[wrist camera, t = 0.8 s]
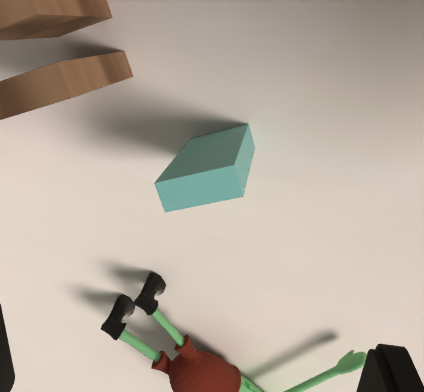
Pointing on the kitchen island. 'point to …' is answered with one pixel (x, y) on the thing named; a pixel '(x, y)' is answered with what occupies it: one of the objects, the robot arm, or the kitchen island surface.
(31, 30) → the domino
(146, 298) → the toy
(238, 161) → the domino
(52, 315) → the kitchen island surface
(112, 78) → the domino
